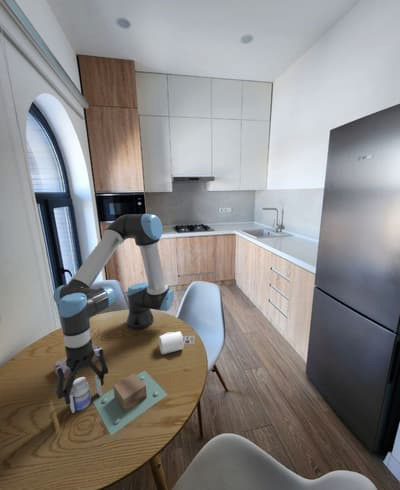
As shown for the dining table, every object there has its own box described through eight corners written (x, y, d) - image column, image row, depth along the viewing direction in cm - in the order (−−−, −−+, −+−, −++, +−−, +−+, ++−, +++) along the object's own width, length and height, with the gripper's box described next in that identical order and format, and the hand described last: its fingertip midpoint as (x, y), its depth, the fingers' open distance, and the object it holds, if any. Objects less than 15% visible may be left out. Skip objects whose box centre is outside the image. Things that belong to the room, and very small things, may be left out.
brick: (60, 382, 84) (59, 371, 84) (53, 371, 90) (52, 361, 89) (102, 359, 97) (101, 350, 96) (94, 351, 102) (93, 342, 101)
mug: (184, 352, 100) (183, 337, 99) (162, 358, 96) (161, 342, 95) (177, 338, 111) (176, 324, 110) (157, 343, 107) (156, 328, 106)
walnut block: (135, 384, 81) (134, 372, 80) (146, 397, 75) (145, 385, 74) (114, 397, 75) (113, 385, 74) (124, 413, 70) (123, 399, 69)
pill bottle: (74, 402, 75) (71, 377, 73) (92, 397, 77) (89, 373, 75) (72, 416, 70) (68, 390, 68) (90, 410, 72) (87, 384, 70)
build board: (144, 373, 88) (144, 369, 88) (167, 397, 76) (167, 393, 76) (92, 404, 74) (92, 400, 74) (111, 439, 63) (110, 434, 63)
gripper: (106, 324, 79) (112, 378, 83) (37, 351, 65) (48, 414, 69) (115, 332, 74) (120, 389, 78) (41, 363, 60) (53, 431, 64)
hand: (86, 401), depth 74 cm, fingers open, 8 cm apart
